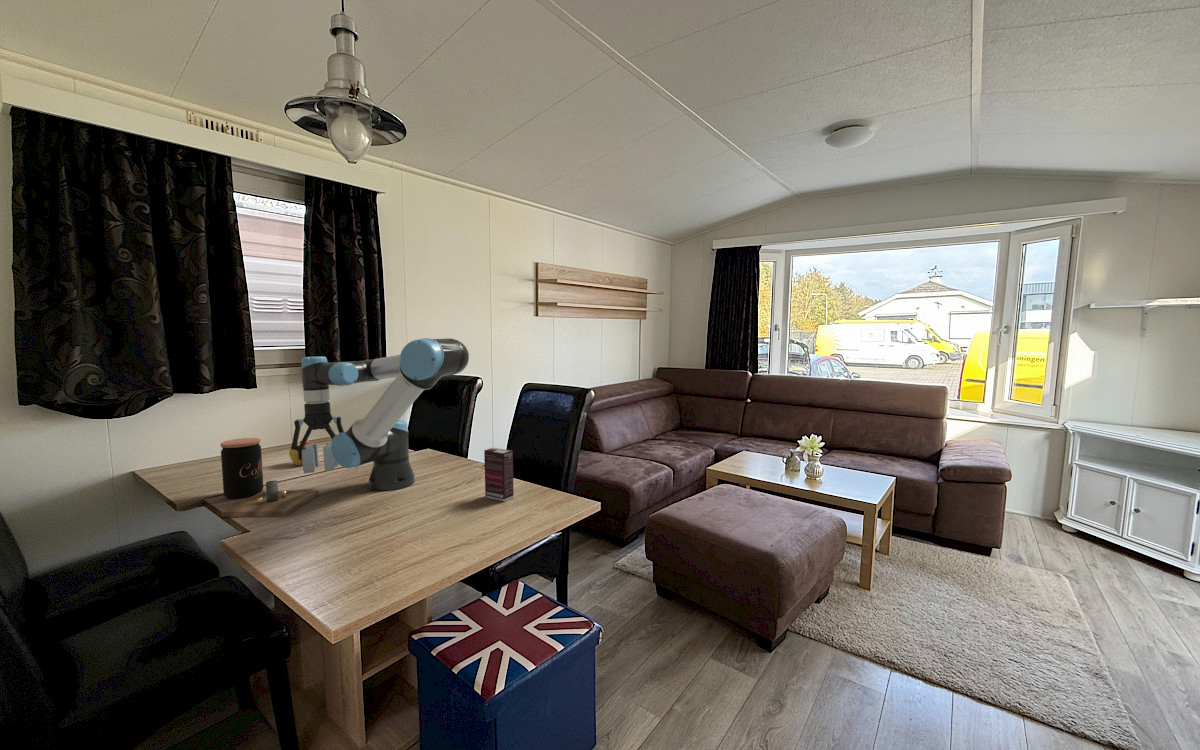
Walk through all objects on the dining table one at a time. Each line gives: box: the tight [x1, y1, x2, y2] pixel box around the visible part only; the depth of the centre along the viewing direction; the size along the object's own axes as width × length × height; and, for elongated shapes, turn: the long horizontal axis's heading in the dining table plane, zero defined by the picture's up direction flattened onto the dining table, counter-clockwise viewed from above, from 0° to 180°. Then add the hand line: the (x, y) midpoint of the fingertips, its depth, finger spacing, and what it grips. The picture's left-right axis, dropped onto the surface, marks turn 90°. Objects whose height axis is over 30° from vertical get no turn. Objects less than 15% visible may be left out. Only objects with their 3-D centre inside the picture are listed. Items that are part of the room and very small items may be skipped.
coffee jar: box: [219, 437, 264, 500], centre depth 158 cm, size 11×11×18 cm
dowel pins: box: [258, 490, 287, 505], centre depth 149 cm, size 8×1×2 cm, turn 153°
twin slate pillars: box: [302, 441, 337, 474], centre depth 163 cm, size 9×9×8 cm
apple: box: [288, 440, 313, 467], centre depth 194 cm, size 9×9×10 cm
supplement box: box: [483, 447, 515, 502], centre depth 156 cm, size 9×5×16 cm, turn 60°
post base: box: [221, 479, 319, 518], centre depth 149 cm, size 18×18×8 cm
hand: (321, 467), depth 163 cm, fingers closed on twin slate pillars, 9 cm apart
